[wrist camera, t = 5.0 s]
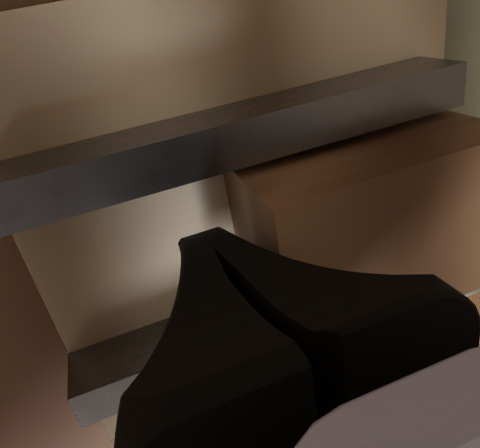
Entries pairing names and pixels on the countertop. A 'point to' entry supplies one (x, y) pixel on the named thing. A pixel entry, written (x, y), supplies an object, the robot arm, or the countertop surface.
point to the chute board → (172, 105)
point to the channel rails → (203, 175)
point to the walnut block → (372, 201)
